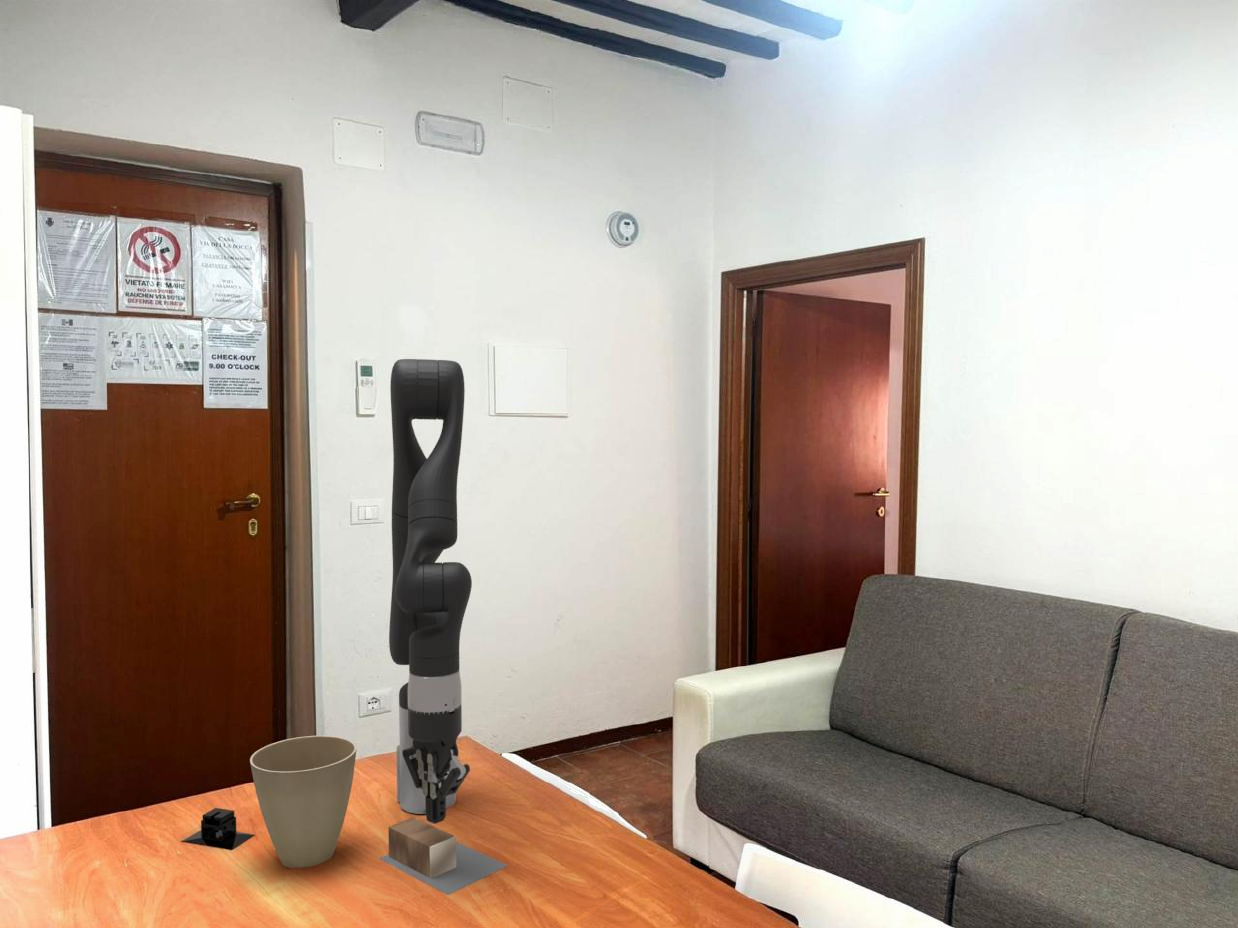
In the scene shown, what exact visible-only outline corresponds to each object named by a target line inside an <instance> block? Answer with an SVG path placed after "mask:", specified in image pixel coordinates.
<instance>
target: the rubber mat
mask: <svg viewBox="0 0 1238 928" xmlns="http://www.w3.org/2000/svg"><path fill="white" fill-rule="evenodd" d="M378 859H379V860H381V861H383V862H384V863H386V864H388V865H390V866H392V867H394V868H396V869H398V870H399V871H402V872H403V873H406V874H407V875H409V876H412V878H415V879H416V880H418V881H421V882H423V883H425V884H427V885H429V886H430V887H432V888H434V889H436V890H438V891H440V892H442V893H443V894H445V895H448V896H449V895H451V894H453V893H455V892H457V891H459V890H462V889H463V888H466V887H467V886H470V885H472V884H473V883H476V882H478V881H480V880H482V879H484V878H486V877H488V876H490V875H492V874H495V873H497V872H499V871H501V870H503V869H505V868H507V867H509V865H507V864H505V863H503V862H501V861H499V860H498V859H495V858H492V857H490V856H488V855H487V854H484V853H482V852H480V851H477V850H475V849H473V848H472V847H469V846H467V845H465V844H463V843H460V842H458V841H456V868H454V869H451V870H449V871H447V872H445V873H443V874H440V875H438V876H436V877H434V878H432V879H431V878H429V877H427V876H425V875H423V874H421V873H419V872H417V871H415V870H413V869H411V868H410V867H408V866H406V865H404V864H402V863H400V862H398V861H396V860H394V859H392V858H390V857H389V853H387V854H386V855H383V856H380V857H379V858H378Z"/></svg>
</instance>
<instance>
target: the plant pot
mask: <svg viewBox="0 0 1238 928" xmlns="http://www.w3.org/2000/svg"><path fill="white" fill-rule="evenodd" d="M356 756H357V744H356V743H355V742H354V741H352V740H351V739H348V738H345V737H341V736H336V735H308V736H307V735H306V736H298V737H293V738H287V739H283V740H280V741H277V742H274V743H270V744H267V745H265V746H264V747H261V748H260V749H258V750H256V751H255V752H254V753H253V754H252V755H251V756H250V758H249V763H250V768H251V774H252V778H253V779H252V780H253V785H254V789H255V795H256V797H257V802H258V804H259V809H260V811H261V815H262V818H263V821H264V825H265V827H266V829H267V832H268V835H269V838H270V840H271V843H272V845H273V848H274V850H275V852H276V854H277V856H278V858H279V861H280V863H281V864H282V865H283V866H284V867H285V868H289V869H293V868H308V867H313V866H317V865H321V864H323V863H325V862H327V861H329V860H330V859H331V858H332V857H333V855H334V854H335V851H336V847H337V845H338V843H339V842H338V841H339V838H340V836H341V832H342V830H343V826H344V822H345V819H346V814H347V810H348V806H349V801H350V796H351V792H352V787H353V781H354V775H355V774H354V773H355V765H356Z"/></svg>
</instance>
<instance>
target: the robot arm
mask: <svg viewBox="0 0 1238 928" xmlns="http://www.w3.org/2000/svg"><path fill="white" fill-rule="evenodd" d="M391 369H392V370H391V375H390V385H389V387H390V409H391V428H392V429H391V430H392V450H393V451H392V452H393V468H392V472H393V473H392V494H391V548H392V551H391V553H392V587H391V600H390V601H391V602H390V613H389V616H390V617H389V633H388V642H389V643H388V644H389V645H388V647H389V653H390V656H391V660H392V661H393V662H394V663H395V664H396V665H399V666H408V671H409V673H408V674H409V676H408V682H406V683H404V684H403V685H402V686H401V687H400V689H399V692H398V693H399V694H398V711H399V712H398V724H399V731H398V733H399V745H397V746H396V801H397V802H398V803H399V806H400V808H401V810H403V811H405V812H407V813H410V814H417V815H426V821H427V822H429V823H432V824H434V825H435V824H439V823H440V822H441V823H442V822H443V821H444V820H445V818H446V814H447V811H446V810H447V809H449V808H451V807H452V806H454V805H455V804H456V802H457V799H456V797H457V791H458V790H459V789H460V788H461V787H460V786H461V785H462V784H463V782H464V781H465V779H466V778H467V776H468V775H469V773H470V772H471V767H470V765H469V764H467V763H466V764H462V762H461V760H460V759H459V757H458V756H459V747H458V745H457V739H458V738H459V735H461V733H462V729H463V727H462V726H463V725H462V723H463V721H462V719H463V718H462V717H463V716H462V708H463V707H462V703H463V702H462V680H461V675H460V674H461V673H460V639H461V631H462V626H463V620H464V617H465V613H466V611H467V610H466V609H467V607H468V603H469V601H470V597H471V591H472V588H473V587H472V586H473V582H472V581H473V580H472V576H471V573H470V571H469V569H468V567H466V565H464V564H463V563H461V562H460V561H459V562H457V561H447V562H446V561H443V562H436V561H437V560H438V559H439V558H440V556H441V554H442V553H443V551H444V550H447V549H450V548H451V547H453V546H454V545H455V544H456V543H457V542H458V541H457V540H458V499H457V497H458V496H457V495H458V493H457V492H458V478H459V477H458V474H459V467H460V466H459V465H460V460H461V459H460V457H461V450H462V438H463V437H462V436H463V427H464V425H463V424H464V415H465V414H464V413H465V412H464V411H465V376H464V372H463V368H462V366H461V364H460V363H459V362H457V361H454V360H448V359H427V358H426V359H425V358H424V359H422V358H419V359H417V358H402V359H398V360H396V361H395V362H394V363H393V366H392V368H391ZM413 420H435V421H436V420H440V421H442V427H441V430H440V431H441V432H440V435H439V438H438V440H437V442H436V443H435V446H434V447H433V449H432V451H431V453H429V456H427V457H426V455H425V454H424V451H423V450H422V447H421V445H420V443H419V441H418V438H417V435H416V434H415V430H414V427H413V422H412V421H413Z"/></svg>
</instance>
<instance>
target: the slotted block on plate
mask: <svg viewBox="0 0 1238 928" xmlns="http://www.w3.org/2000/svg"><path fill="white" fill-rule="evenodd" d="M200 828H201V829H200V830H199V831H196V832H195V833H193V834H191V835H189V836H188V837H186V838H185V839H183V840H180V843H186V844H192V845H199V846H203V847H210V848H215V849H223V850H228V851H233V850H235V849H236V848H238V847H240V846H241V845H243V844H244V843H246V842H247V841H249V840H250V839H252V838H253V837H255V836H256V834H253V833H247V832H241V831H237V816H235V810H231V809H226V808H220V807H219V808H218V807H215V808H213V809H211V810H209V811H207V812H205V813H204V814H202V820H200Z"/></svg>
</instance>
